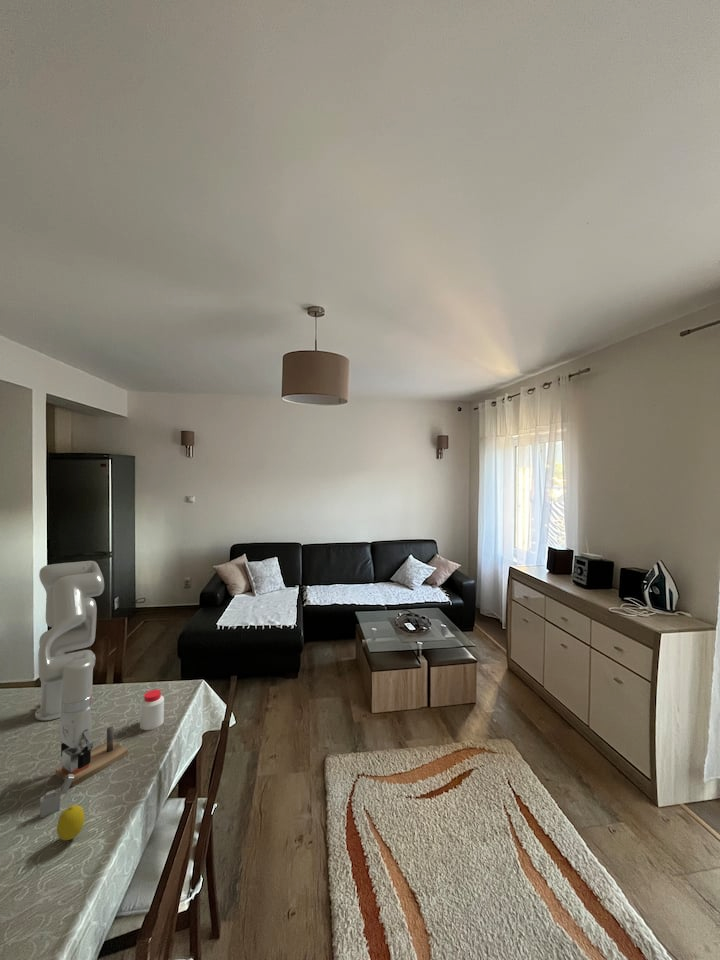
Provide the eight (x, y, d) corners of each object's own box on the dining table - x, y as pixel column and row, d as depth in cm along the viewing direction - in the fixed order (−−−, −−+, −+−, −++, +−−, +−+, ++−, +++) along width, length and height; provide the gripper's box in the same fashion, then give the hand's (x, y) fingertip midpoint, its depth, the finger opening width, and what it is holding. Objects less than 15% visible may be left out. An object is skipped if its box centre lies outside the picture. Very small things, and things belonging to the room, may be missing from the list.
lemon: (66, 829, 100) (66, 798, 100) (89, 828, 101) (89, 797, 101) (50, 850, 95) (51, 816, 95) (75, 848, 95) (76, 815, 95)
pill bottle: (153, 731, 140) (154, 700, 140) (134, 728, 142) (135, 697, 142) (168, 719, 148) (169, 689, 148) (150, 716, 149) (151, 686, 149)
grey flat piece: (40, 818, 104) (41, 787, 104) (40, 814, 105) (40, 783, 105) (73, 804, 108) (74, 775, 108) (73, 800, 109) (73, 771, 110)
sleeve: (61, 771, 118) (62, 750, 118) (80, 761, 123) (80, 741, 123) (70, 777, 116) (70, 756, 116) (88, 766, 120) (89, 747, 120)
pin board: (55, 774, 119) (56, 745, 119) (110, 744, 133) (111, 718, 133) (72, 787, 114) (73, 757, 114) (127, 754, 128) (128, 728, 128)
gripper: (48, 700, 120) (47, 757, 120) (78, 717, 112) (76, 778, 112) (76, 689, 127) (74, 743, 127) (106, 705, 119) (104, 762, 118)
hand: (75, 759), depth 119 cm, fingers open, 9 cm apart
